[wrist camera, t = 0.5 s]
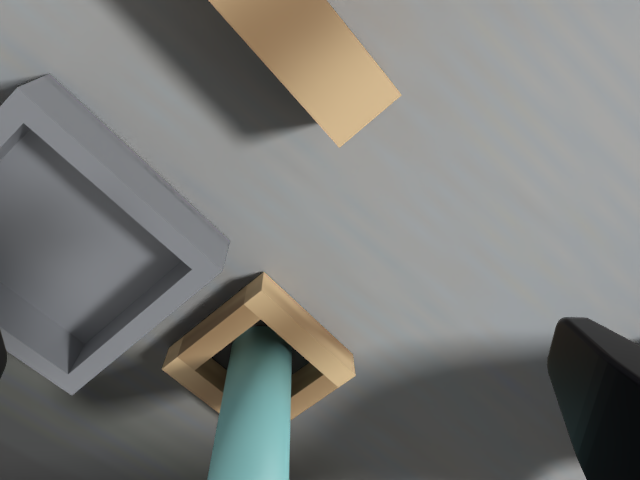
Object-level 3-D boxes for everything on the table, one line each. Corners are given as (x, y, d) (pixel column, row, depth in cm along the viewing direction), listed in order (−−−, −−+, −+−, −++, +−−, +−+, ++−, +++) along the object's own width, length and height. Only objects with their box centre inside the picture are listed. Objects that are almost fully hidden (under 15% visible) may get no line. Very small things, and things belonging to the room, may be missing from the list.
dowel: (304, 352, 25) (305, 503, 18) (261, 383, 26) (245, 540, 19) (262, 315, 24) (246, 459, 17) (218, 349, 25) (186, 501, 18)
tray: (230, 240, 23) (222, 270, 20) (92, 357, 25) (71, 395, 23) (49, 73, 19) (17, 87, 17) (-89, 226, 22) (-133, 255, 20)
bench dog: (385, 74, 20) (401, 95, 17) (333, 120, 21) (339, 147, 17) (228, -124, 17) (211, -144, 14) (173, -64, 18) (146, -70, 15)
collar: (352, 354, 26) (355, 375, 24) (259, 419, 27) (257, 442, 26) (263, 271, 23) (261, 290, 22) (169, 347, 25) (161, 369, 24)
